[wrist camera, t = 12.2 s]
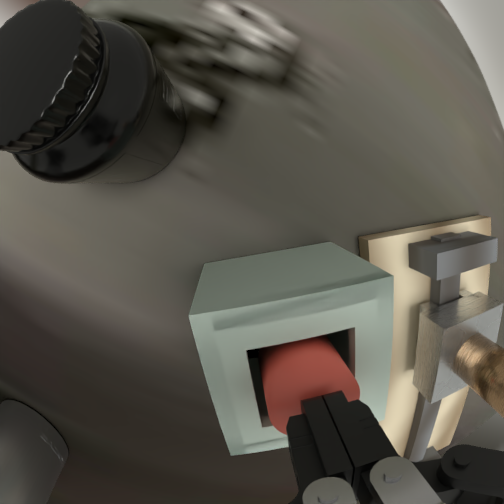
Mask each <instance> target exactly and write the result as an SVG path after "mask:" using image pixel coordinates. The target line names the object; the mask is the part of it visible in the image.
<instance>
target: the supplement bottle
mask: <svg viewBox="0 0 504 504" xmlns="http://www.w3.org/2000/svg"><path fill="white" fill-rule="evenodd" d="M185 126H186V118H185V111H184V107H183V104H182V102H181V100H180V98H179V96H178V94H177V92H176V90H175V89H174V87H173V85H172V84H171V82H170V80H169V79H168V77H167V75H166V74H165V72H164V70H163V69H162V67H161V65H160V64H159V62H158V60H157V59H156V57H155V55H154V54H153V52H152V50H151V49H150V47H149V45H148V44H147V43H146V41H145V40H144V39H143V38H142V36H141V35H140V34H139V33H138V32H137V31H135V30H134V29H133V28H131V27H130V26H128V25H126V24H124V23H121V22H118V21H115V20H110V19H92V18H90V17H89V16H87V15H86V14H85V13H84V12H83V11H82V9H81V8H79V7H77V6H76V5H75V4H74V3H73V2H71V1H65V0H40V1H38V2H36V3H35V4H31V5H28V6H27V7H26V8H24V9H23V10H21V11H19V12H17V13H16V14H15V15H14V16H13V17H12V18H10V19H9V20H7V21H6V22H5V24H4V25H3V26H2V27H1V28H0V150H2V151H7V152H10V153H12V155H13V156H14V158H15V160H16V161H17V162H18V163H19V165H20V166H21V167H22V168H23V169H24V170H25V171H27V172H28V173H29V174H30V175H32V176H34V177H36V178H38V179H40V180H43V181H47V182H53V183H130V182H137V181H141V180H144V179H147V178H149V177H151V176H153V175H155V174H156V173H158V172H159V171H161V170H162V169H163V168H164V167H166V166H167V165H168V164H169V162H170V161H171V160H172V159H173V158H174V156H175V155H176V153H177V152H178V150H179V148H180V146H181V143H182V141H183V137H184V133H185Z"/></svg>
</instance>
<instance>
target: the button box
mask: <svg viewBox="0 0 504 504" xmlns="http://www.w3.org/2000/svg"><path fill="white" fill-rule="evenodd" d="M393 313H394V276H393V275H391V274H390V273H388V272H386V271H384V270H382V269H381V268H379V267H377V266H375V265H373V264H371V263H370V262H368V261H366V260H364V259H362V258H360V257H358V256H357V255H355V254H353V253H351V252H349V251H347V250H345V249H343V248H342V247H340V246H338V245H336V244H334V243H332V242H325V243H319V244H314V245H308V246H302V247H296V248H291V249H285V250H279V251H273V252H268V253H262V254H256V255H250V256H245V257H239V258H233V259H227V260H222V261H216V262H210V263H204V266H203V269H202V273H201V276H200V279H199V282H198V285H197V289H196V292H195V295H194V299H193V302H192V305H191V309H190V312H189V315H188V316H189V320H190V324H191V328H192V331H193V335H194V339H195V343H196V346H197V350H198V354H199V357H200V361H201V364H202V368H203V371H204V374H205V378H206V381H207V385H208V388H209V391H210V394H211V398H212V401H213V404H214V407H215V410H216V413H217V416H218V419H219V422H220V425H221V428H222V431H223V434H224V437H225V440H226V443H227V446H228V449H229V451H230V454H231V456H232V455H240V454H248V453H254V452H261V451H267V450H273V449H278V448H284V447H289V445H288V438H287V435H285V434H283V433H281V432H279V431H278V430H277V429H276V428H275V427H274V426H273V425H272V423H271V421H270V419H269V415H268V409H267V404H266V399H265V394H264V388H263V383H262V378H261V373H260V367H259V362H258V357H257V358H251V359H248V355H247V350H250V349H256V348H262V347H267V346H272V345H278V344H283V343H288V342H293V341H297V340H302V339H307V338H311V337H316V336H320V335H324V334H327V337H328V338H329V340H330V341H331V343H332V344H333V346H334V347H335V349H336V350H337V352H338V353H339V355H340V356H341V358H342V359H343V361H344V362H345V364H346V365H347V367H348V368H349V370H350V372H351V373H352V375H353V376H354V378H355V379H356V381H357V382H358V385H359V388H360V399H359V400H360V401H361V402H363V403H365V404H366V405H368V406H369V408H370V409H371V411H372V413H373V414H374V417H376V419H377V421H378V422H379V421H382V420H384V419H385V412H386V405H387V397H388V389H389V379H390V369H391V356H392V340H393Z"/></svg>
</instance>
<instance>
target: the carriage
mask: <svg viewBox="0 0 504 504" xmlns="http://www.w3.org/2000/svg"><path fill="white" fill-rule="evenodd" d="M502 309H503V303H502V302H500V301H498V300H496V299H494V298H492V297H489V296H487V295H485V294H483V293H481V292H479V291H478V292H476V293H471V292H469V291H467V290H463V291H460V292H459V299H458V300H455V301H452V302H449V303H446V304H444V305H441V306H438V305H436V304H434V303H433V302H431V301H430V302H427V303H424V304H421V305H420V315H419V329H418V340H417V350H416V359H415V366H414V375H413V382H412V384H413V385H414V386H415V387H416V388H417V389H418V391H419V392H420V393H421V394H422V395H423V396H424V397H425V398H426V400H427V401H428V402H429V403H430V404H432V403H434V402H437V401H439V400H441V399H443V398H445V397H447V396H449V395H451V394H453V393H455V392H457V391H459V390H460V389H462V388H464V387H466V386H470V387H471V388H472V389H473V390H474V391H475V392H476V393H477V394H478V395H479V396H481V397H482V398H483V399H484V400H485V401H486V402H487V403H488V404H489V405H490V406H491V407H492V408H494V409H495V410H496V411H497V412H498V413H499V414H500V415H501V416H502V417H503V418H504V349H503V348H502V347H500V346H499V345H497V344H496V341H497V336H498V331H499V326H500V321H501V315H502Z"/></svg>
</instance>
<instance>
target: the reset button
mask: <svg viewBox="0 0 504 504" xmlns="http://www.w3.org/2000/svg"><path fill="white" fill-rule="evenodd" d="M258 362H259V367H260V373H261V378H262V383H263V388H264V394H265V399H266V404H267V409H268V415H269V419H270V421H271V423H272V425H273V426H274V427H275V428H276V429H277V430H278V431H279V432H281V433H283V434H285V435H287V432H286V426H287V423H288V419H289V417H290V416H295V415H299V414H302V413H301V400H304V399H308V398H312V397H317V396H321V395H324V394H328V393H332V392H336V391H340V390H342V391H343V393H344V395H345V397H346V398H347V400H348V402H350V401H353V400H357V399H358V400H359V399H360V388H359V385H358V382H357V381H356V379H355V378H354V376H353V375H352V373H351V372H350V370H349V368H348V367H347V365H346V364H345V362H344V361H343V359H342V358H341V356H340V355H339V353H338V352H337V350H336V349H335V347H334V346H333V344H332V343H331V341H330V340H329V338H328V337H327V335H326V334H324V335H320V336H316V337H311V338H307V339H302V340H297V341H293V342H288V343H283V344H278V345H272V346H267V347H262V348H260V349H259V354H258Z"/></svg>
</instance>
